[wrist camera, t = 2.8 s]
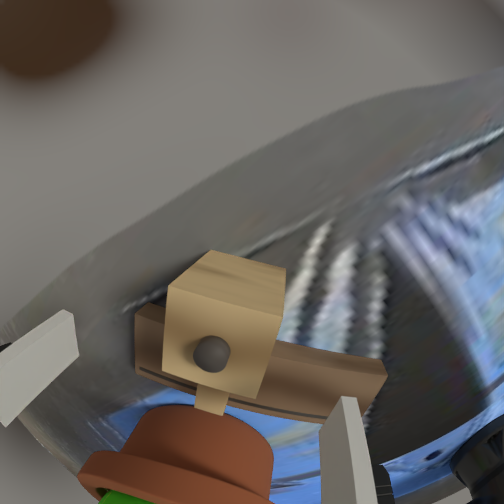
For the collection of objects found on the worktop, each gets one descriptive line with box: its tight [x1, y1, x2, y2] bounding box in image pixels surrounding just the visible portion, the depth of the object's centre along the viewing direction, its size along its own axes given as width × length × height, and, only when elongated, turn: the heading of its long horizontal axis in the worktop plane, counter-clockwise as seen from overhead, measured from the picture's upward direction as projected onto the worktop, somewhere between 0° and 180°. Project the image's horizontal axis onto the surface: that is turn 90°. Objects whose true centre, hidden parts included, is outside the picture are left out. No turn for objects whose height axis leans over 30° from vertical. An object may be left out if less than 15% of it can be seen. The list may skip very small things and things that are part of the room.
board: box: [135, 302, 388, 424], centre depth 22 cm, size 7×22×3 cm, turn 77°
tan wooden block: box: [162, 250, 286, 416], centre depth 18 cm, size 12×6×9 cm, turn 167°
